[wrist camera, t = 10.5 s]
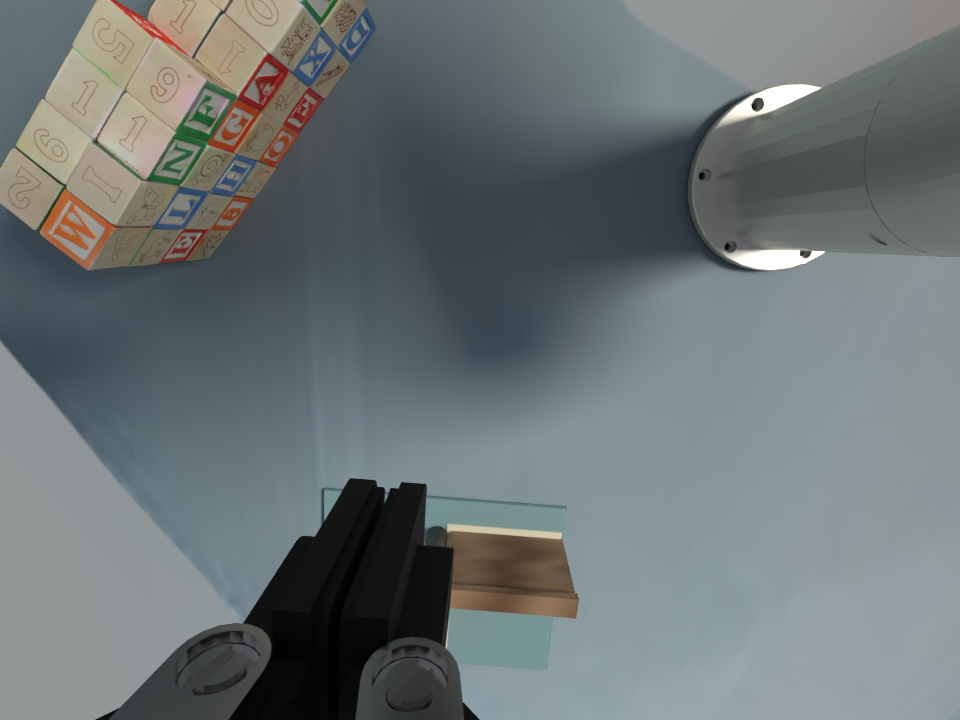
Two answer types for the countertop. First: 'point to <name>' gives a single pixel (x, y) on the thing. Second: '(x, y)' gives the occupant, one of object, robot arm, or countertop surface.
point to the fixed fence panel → (508, 573)
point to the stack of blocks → (173, 122)
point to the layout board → (487, 631)
